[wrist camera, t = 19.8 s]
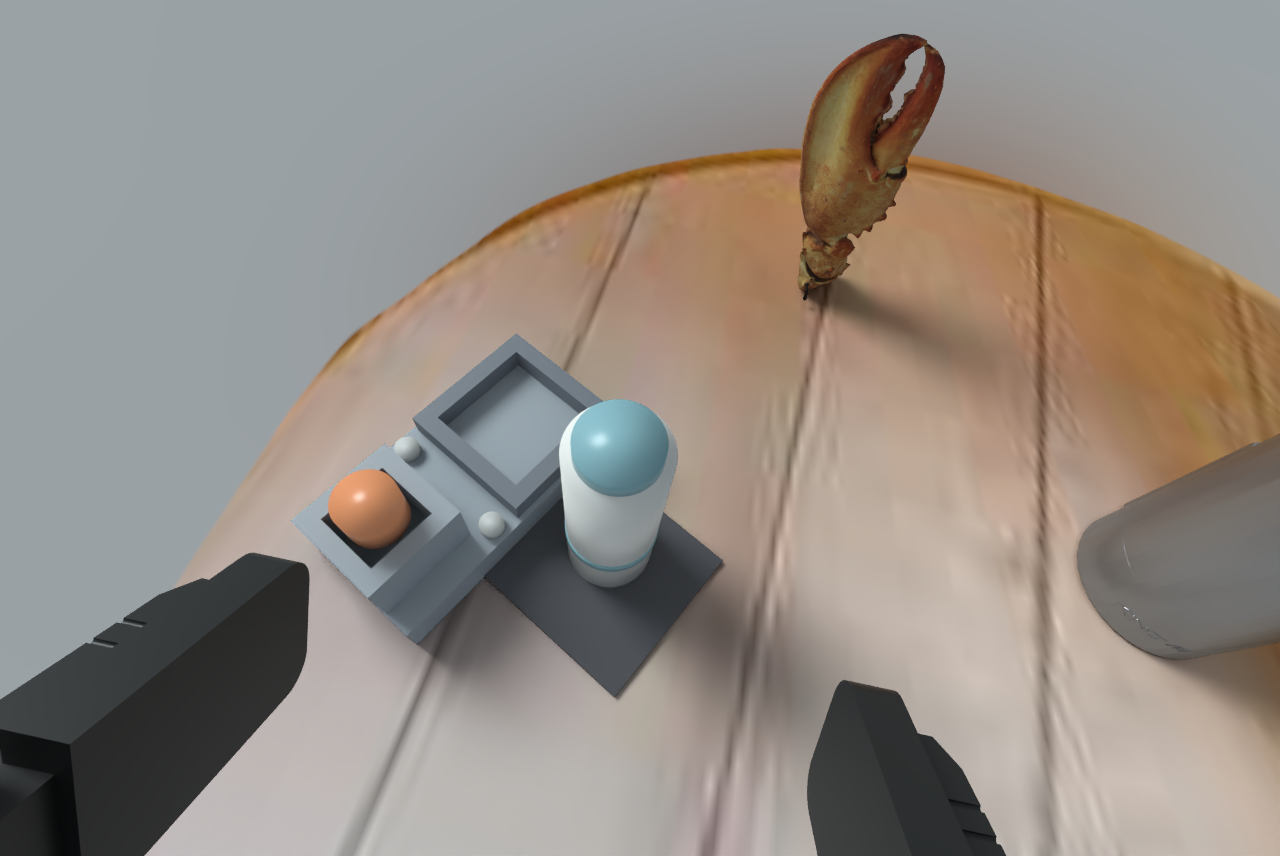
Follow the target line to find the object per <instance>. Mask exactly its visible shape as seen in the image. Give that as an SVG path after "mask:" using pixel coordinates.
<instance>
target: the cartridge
mask: <svg viewBox="0 0 1280 856" xmlns="http://www.w3.org/2000/svg"><path fill="white" fill-rule="evenodd" d="M677 460H678V450H677V445H676V441H675V438H674V436H673V434H672V432H671V430H670V428H669V427H668V425H667V424H666V423H665V422H664V421H663V420H662V419H661V418H660V417H659V416H658V415H657V414H655V413H654V412H653V411H651V410H650V409H649V408H647V407H645V406H644V405H642V404H639V403H637V402H633V401H630V400H622V399H615V400H608V401H604V402H601V403H598V404H596V405H594V406H592V407H589V408H587V409H586V410H584V411H582V412H581V413H580V414H578V415H577V416H576V417H575V418H574V419H573V420H572V421H571V422H570V424H569V425H568V426H567V428H566V430H565V431H564V433H563V436H562V439H561V442H560V447H559V461H560V471H561V482H562V492H563V502H564V513H565V533H566V538H567V544H568V554H569V558H570V561H571V564H572V565H573V567H574V569H575V570H576V572H577V573H578V574H579V575H580V576H581V577H582V578H583V579H585V580H586V581H588V582H590V583H592V584H594V585H597V586H600V587H618V586H622V585H625V584H627V583H629V582H631V581H633V580H634V579H635V578H637V577H638V576H639V575H640V574H641V573H642V571H643V570H644V569H645V567H646V565H647V563H648V561H649V558H650V554H651V551H652V548H653V546H654V543H655V541H656V538H657V534H658V529H659V524H660V521H661V518H662V514H663V511H664V508H665V504H666V501H667V497H668V494H669V491H670V487H671V484H672V481H673V477H674V474H675V471H676V467H677Z"/></svg>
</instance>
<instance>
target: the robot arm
mask: <svg viewBox="0 0 1280 856" xmlns="http://www.w3.org/2000/svg"><path fill="white" fill-rule="evenodd" d="M1077 558H1078V570H1079V574H1080V578H1081V581H1082V584H1083V587H1084V589H1085V591H1086V593H1087V595H1088V597H1089V599H1090V601H1091V602H1092V604H1093V605H1094V607H1095V608H1096V610H1097V611H1098V613H1099V614H1100V615H1101V616H1102V618H1103V619H1104V620H1105V621H1106V622H1107V623H1108V624H1109V625H1110V626H1111V628H1113V629H1114V630H1115V631H1116V632H1117V633H1119V634H1120V635H1121V636H1122V637H1123V638H1125V639H1126V640H1127V641H1129V642H1131V643H1132V644H1134V645H1136V646H1137V647H1139V648H1140V649H1142V650H1145V651H1147V652H1150V653H1152V654H1155V655H1157V656H1161V657H1166V658H1171V659H1190V658H1196V657H1201V656H1207V655H1213V654H1218V653H1224V652H1229V651H1235V650H1241V649H1247V648H1254V647H1259V646H1265V645H1271V644H1276V643H1280V434H1278V435H1276V436H1274V437H1272V438H1269V439H1267V440H1265V441H1263V442H1261V443H1252V444H1249V445H1247V446H1245V447H1243V448H1241V449H1239V450H1237V451H1234V452H1232V453H1230V454H1228V455H1226V456H1224V457H1222V458H1220V459H1218V460H1216V461H1214V462H1212V463H1209V464H1207V465H1205V466H1203V467H1201V468H1199V469H1197V470H1195V471H1193V472H1191V473H1189V474H1187V475H1184V476H1182V477H1180V478H1178V479H1176V480H1174V481H1172V482H1170V483H1168V484H1166V485H1164V486H1162V487H1159V488H1157V489H1155V490H1153V491H1151V492H1149V493H1147V494H1145V495H1143V496H1141V497H1139V498H1137V499H1135V500H1132V501H1130V502H1128V503H1126V504H1125V505H1124V507H1123V508H1121V509H1119V510H1117V511H1115V512H1113V513H1111V514H1109V515H1107V516H1105V517H1103V518H1101V519H1099V520H1097V521H1095V522H1093V523H1092V524H1091V525H1090V526H1089V527H1088V528H1087V529H1086V530H1085V532H1084V534H1083V536H1082V538H1081V540H1080V542H1079V548H1078V553H1077ZM308 605H309V571H308V568H307V566H306V565H305V564H303V563H300V562H295V561H290V560H286V559H281V558H276V557H272V556H267V555H262V554H258V553H249V554H246V555H244V556H243V557H241V558H240V559H238V560H237V561H235V562H234V563H233V564H231V565H230V566H228V567H227V568H225V569H224V570H223V571H221V572H220V573H218V574H217V575H215V576H214V577H212V578H211V579H210V580H207V579H203V578H202V579H199V580H196V581H194V582H191V583H188V584H186V585H183V586H181V587H178V588H175V589H173V590H170V591H167V592H165V593H162V594H159V595H158V596H156V597H155V598H153V599H152V600H150V601H149V602H147V603H146V604H144V605H143V606H141V607H140V608H138V609H137V610H135V611H134V612H132V613H130V614H129V615H127V616H126V617H124V620H123V622H122V623H115V624H114V625H113V626H111V627H109V628H108V629H106V630H105V631H103V632H102V633H100V634H99V635H97V636H96V637H94V640H93V642H92V643H91V644H88V643H85V644H84V645H82V646H81V647H79V648H78V649H76V650H75V651H73V652H72V653H70V654H69V655H67V656H65V657H64V658H62V659H61V660H59V661H58V662H56V663H55V664H53V665H52V666H50V667H49V668H47V669H46V670H44V671H43V672H41V673H40V674H38V675H37V676H35V677H34V678H32V679H31V680H29V681H28V682H26V683H25V684H23V685H22V686H20V687H19V688H17V689H16V690H14V691H13V692H11V693H10V694H8V695H7V696H5V697H3V698H2V699H0V856H144V855H145V854H146V853H147V852H148V851H149V850H150V849H151V848H152V846H153V845H154V844H155V843H156V842H157V841H158V840H159V839H160V837H161V836H162V835H163V834H164V833H165V832H166V831H167V830H168V829H169V827H170V826H171V825H172V824H173V823H174V822H175V821H176V820H177V818H178V817H179V816H180V815H181V814H182V813H183V812H184V811H185V809H186V808H187V807H188V806H189V805H190V804H191V803H192V802H193V801H194V799H195V798H196V797H197V796H198V795H199V794H200V793H201V792H202V790H203V789H204V788H205V787H206V786H207V785H208V784H209V783H210V782H211V780H212V779H213V778H214V777H215V776H216V775H217V774H218V773H219V771H220V770H221V769H222V768H223V767H224V766H225V765H226V764H227V762H228V761H229V760H230V759H231V758H232V757H233V756H234V755H235V754H236V752H237V751H238V750H239V749H240V748H241V747H242V746H243V745H244V743H245V742H246V741H247V740H248V739H249V738H250V737H251V736H252V735H253V733H254V732H255V731H256V730H257V729H258V728H259V727H260V726H261V724H262V723H263V722H264V721H265V720H266V719H267V718H268V717H269V715H270V714H271V713H272V712H273V711H274V710H275V709H276V708H277V707H278V705H279V704H280V703H281V702H282V701H283V700H284V699H285V698H286V696H287V695H288V694H289V693H290V691H291V690H292V688H293V687H294V685H295V683H296V682H297V680H298V678H299V676H300V673H301V671H302V668H303V665H304V662H305V658H306V652H307V632H308ZM807 800H808V810H809V815H810V820H811V825H812V830H813V835H814V840H815V845H816V850H817V855H818V856H1006V854H1005V852H1004V850H1003V848H1002V846H1001V845H999V844H997V843H996V835H995V833H994V831H993V829H992V827H991V825H990V823H989V821H988V819H987V817H986V815H985V813H982V812H981V811H980V806H981V805H980V803H979V801H978V799H977V797H976V796H975V794H974V792H973V790H972V788H971V786H970V784H969V782H968V780H967V778H966V776H965V774H964V772H963V770H962V769H961V768H960V767H959V765H958V764H957V763H956V762H955V761H954V760H953V759H952V758H951V757H950V756H949V754H948V753H947V752H946V751H945V750H944V749H943V748H942V747H941V746H940V745H939V743H938V742H937V741H936V740H935V739H934V738H933V737H931V736H927V735H922V734H918V733H917V730H916V728H915V726H914V724H913V722H912V719H911V717H910V715H909V713H908V711H907V709H906V706H905V704H904V702H903V700H902V698H901V696H900V695H899V694H898V692H896V691H893V690H889V689H884V688H879V687H874V686H870V685H865V684H860V683H856V682H851V681H846V680H843V681H841V682H840V683H839V685H838V686H837V688H836V690H835V693H834V695H833V698H832V701H831V704H830V707H829V710H828V713H827V716H826V719H825V722H824V725H823V728H822V731H821V734H820V737H819V740H818V743H817V746H816V748H815V751H814V754H813V757H812V761H811V764H810V769H809V775H808V785H807Z"/></svg>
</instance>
